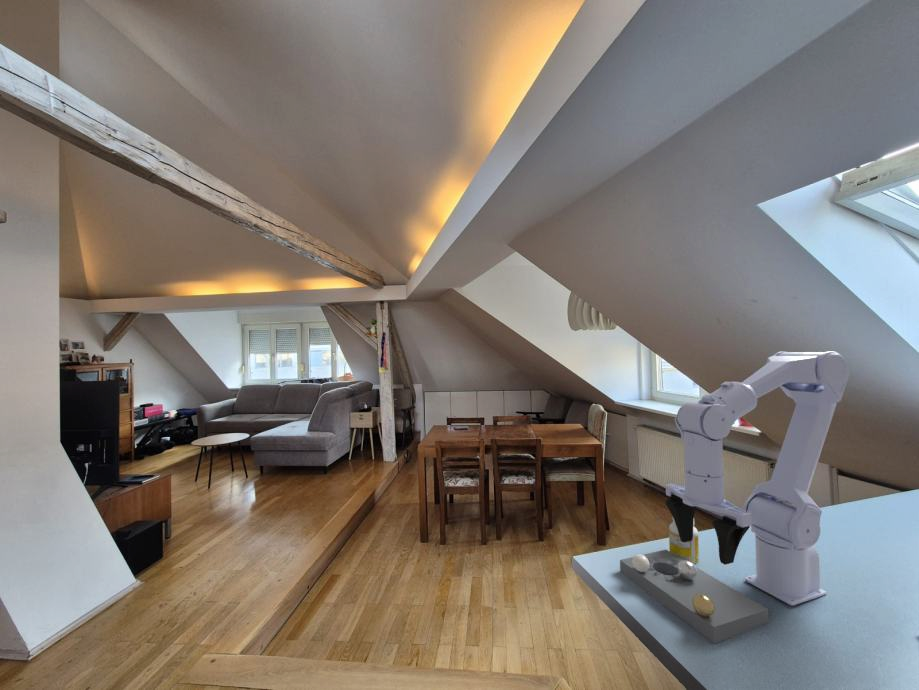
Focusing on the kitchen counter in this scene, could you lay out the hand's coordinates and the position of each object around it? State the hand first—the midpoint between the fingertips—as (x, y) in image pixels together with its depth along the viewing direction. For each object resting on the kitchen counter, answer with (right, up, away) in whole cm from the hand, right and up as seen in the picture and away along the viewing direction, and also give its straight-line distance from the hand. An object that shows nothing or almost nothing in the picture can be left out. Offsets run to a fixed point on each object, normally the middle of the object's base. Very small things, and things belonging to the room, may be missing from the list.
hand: (705, 551), depth 66 cm
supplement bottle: (+5, -10, +14) cm, 18 cm away
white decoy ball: (-8, -6, +7) cm, 12 cm away
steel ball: (-1, -6, +4) cm, 7 cm away
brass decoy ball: (-4, -6, -5) cm, 9 cm away
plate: (-1, -10, +3) cm, 11 cm away
